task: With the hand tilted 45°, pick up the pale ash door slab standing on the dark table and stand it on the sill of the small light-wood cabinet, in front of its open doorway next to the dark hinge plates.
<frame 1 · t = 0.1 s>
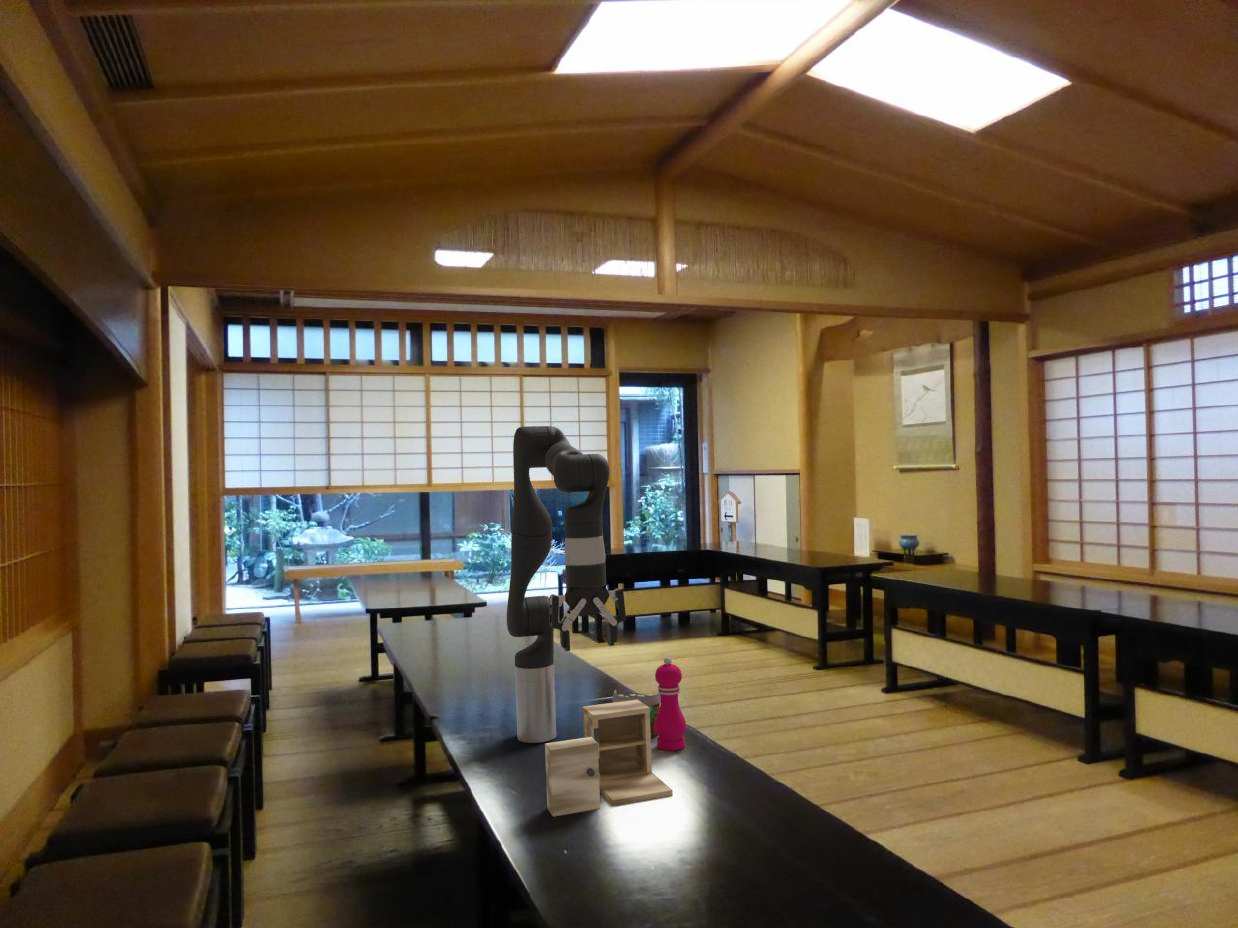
hand: (589, 647, 155), 29 cm above the table, tool pointing down, fingers open, 8 cm apart
food container: (634, 737, 194), on the table
door: (573, 808, 153), on the table
pepper mill: (671, 747, 186), on the table
cabinet: (618, 776, 169), on the table
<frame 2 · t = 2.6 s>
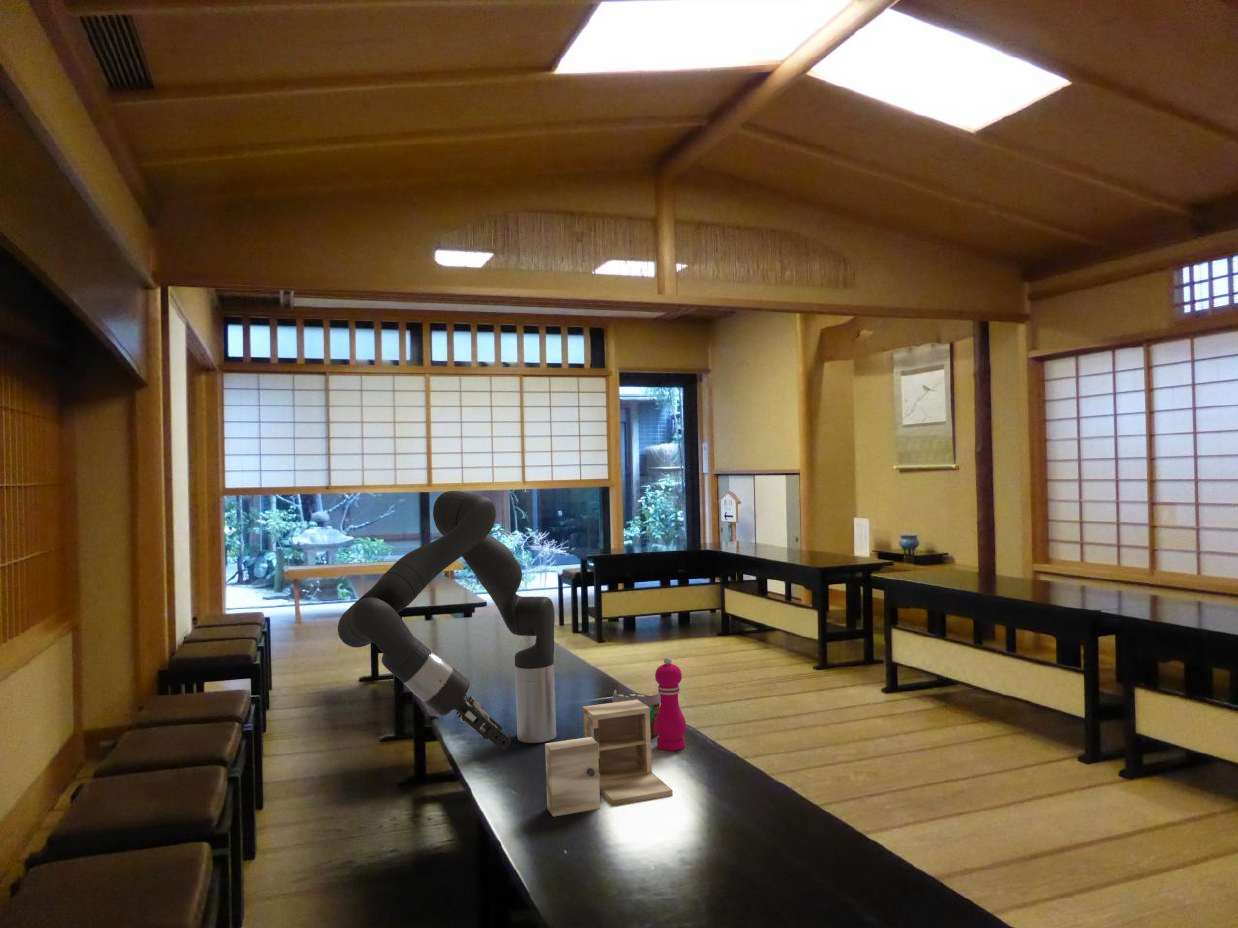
hand: (503, 738, 149), 14 cm above the table, tool tilted 45°, fingers open, 8 cm apart
nothing on the table moved.
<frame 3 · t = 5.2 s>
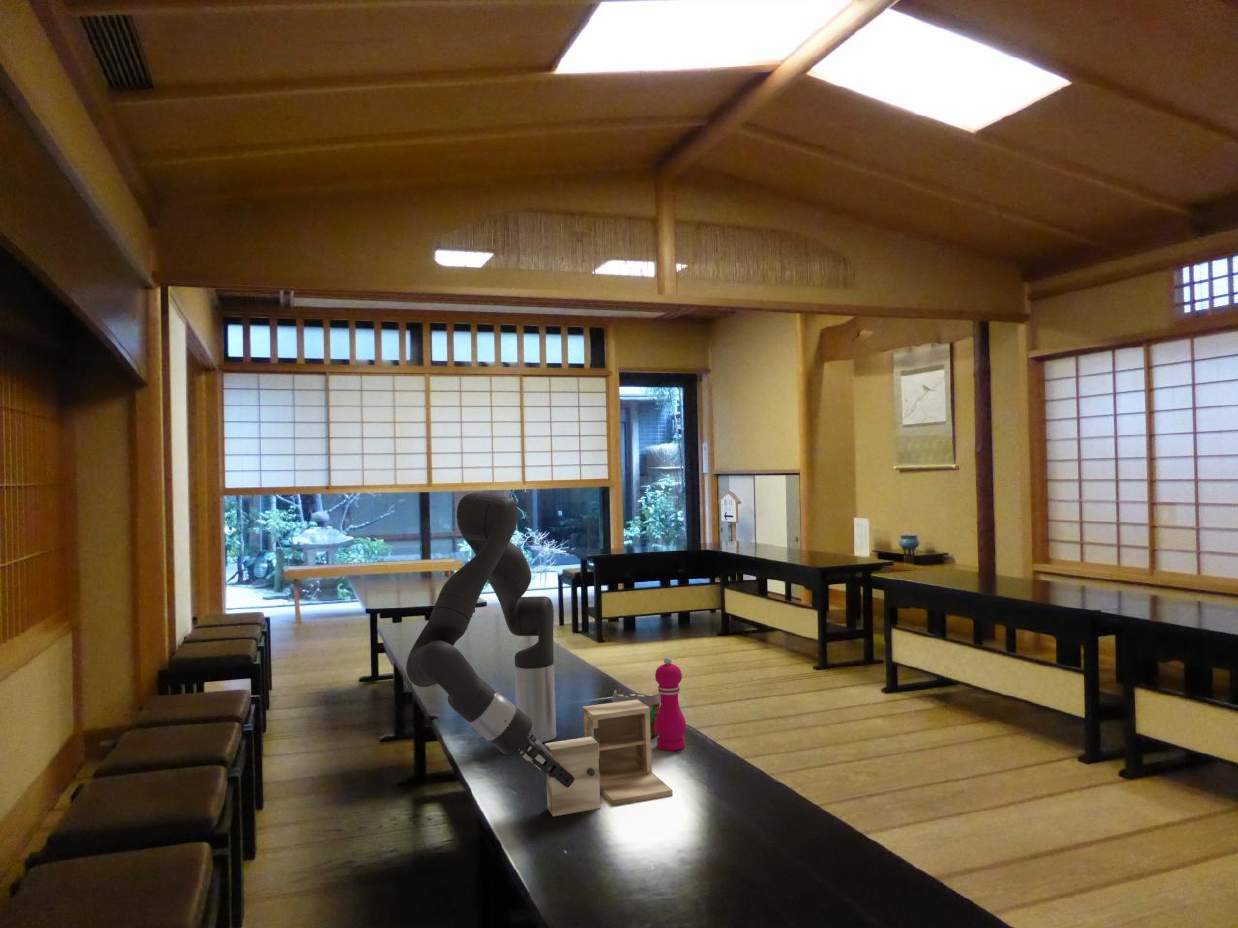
hand: (567, 778, 153), 6 cm above the table, tool tilted 45°, fingers closed on door, 4 cm apart
door: (573, 808, 153), on the table, touching gripper
everything else where it was.
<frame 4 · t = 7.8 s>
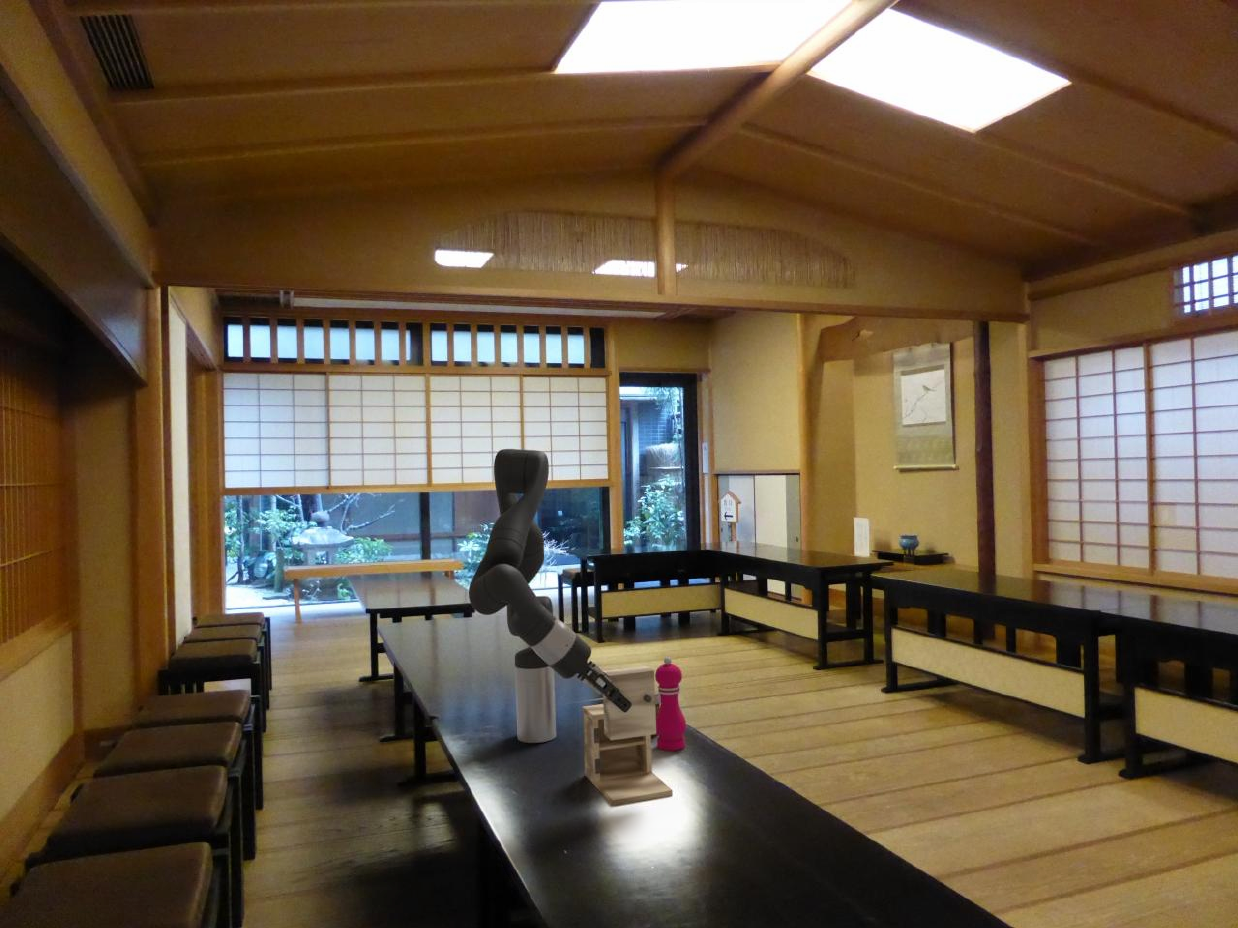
hand: (624, 704, 157), 18 cm above the table, tool tilted 45°, fingers closed on door, 4 cm apart
door: (630, 733, 157), point 12 cm above the table, touching gripper
everything else where it was.
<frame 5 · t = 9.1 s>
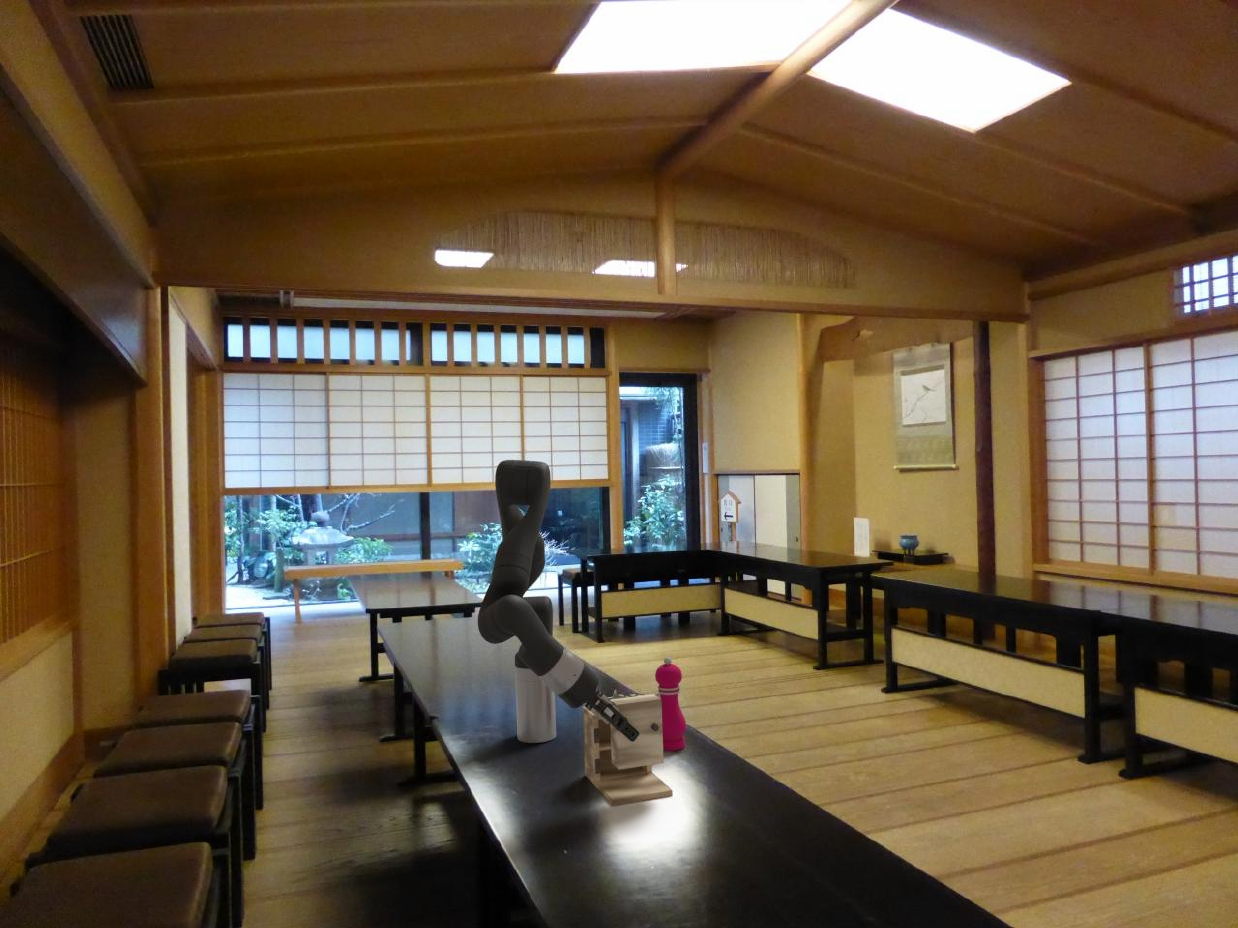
hand: (631, 733, 157), 12 cm above the table, tool tilted 45°, fingers closed on door, 4 cm apart
door: (637, 762, 157), point 6 cm above the table, touching gripper
everything else where it was.
when the fingers open (8 cm above the table, at t = 10.2 s): door drops 1 cm, resting on cabinet.
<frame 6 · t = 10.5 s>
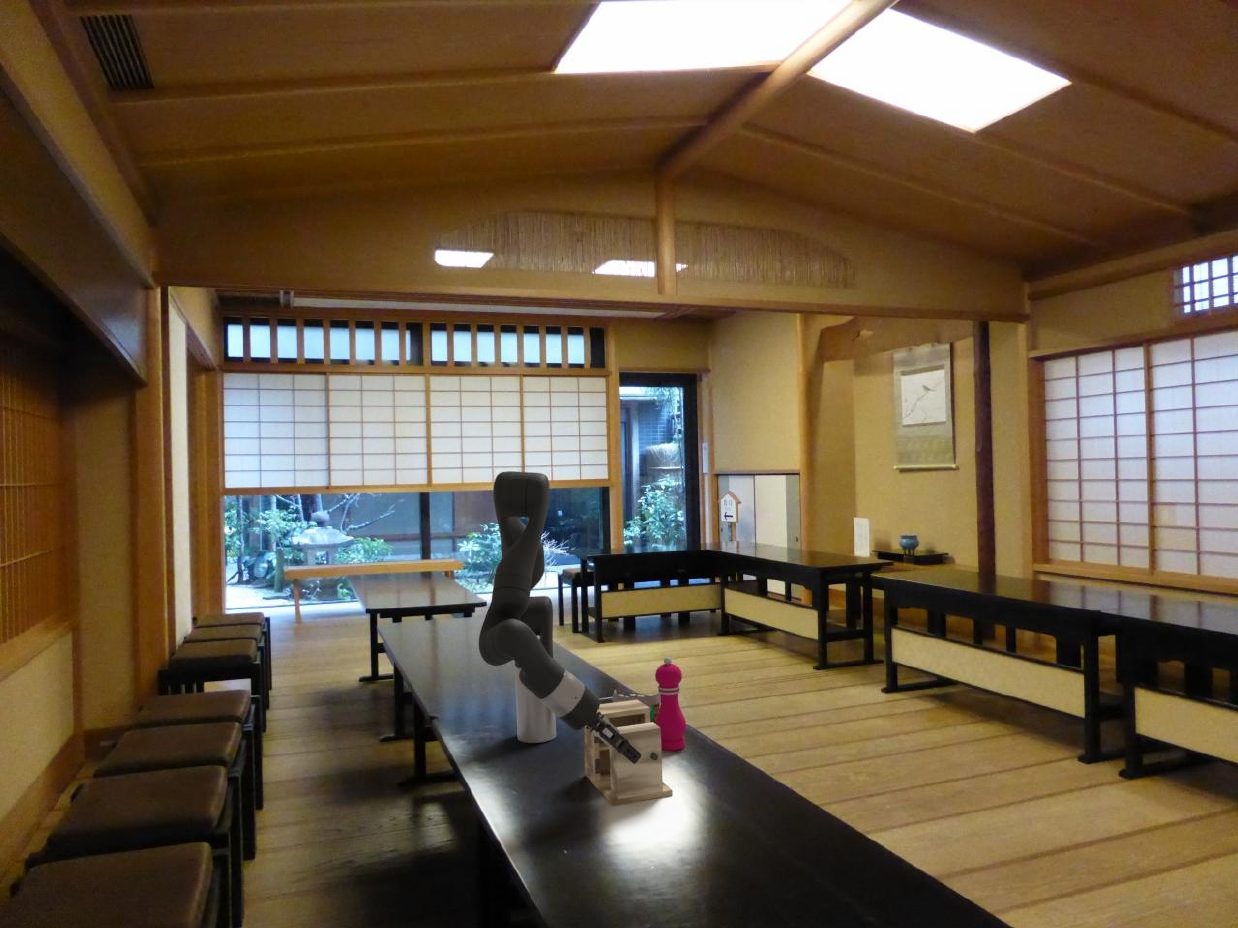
hand: (631, 753, 157), 8 cm above the table, tool tilted 45°, fingers open, 6 cm apart
door: (637, 791, 157), point 1 cm above the table, touching cabinet
everything else where it was.
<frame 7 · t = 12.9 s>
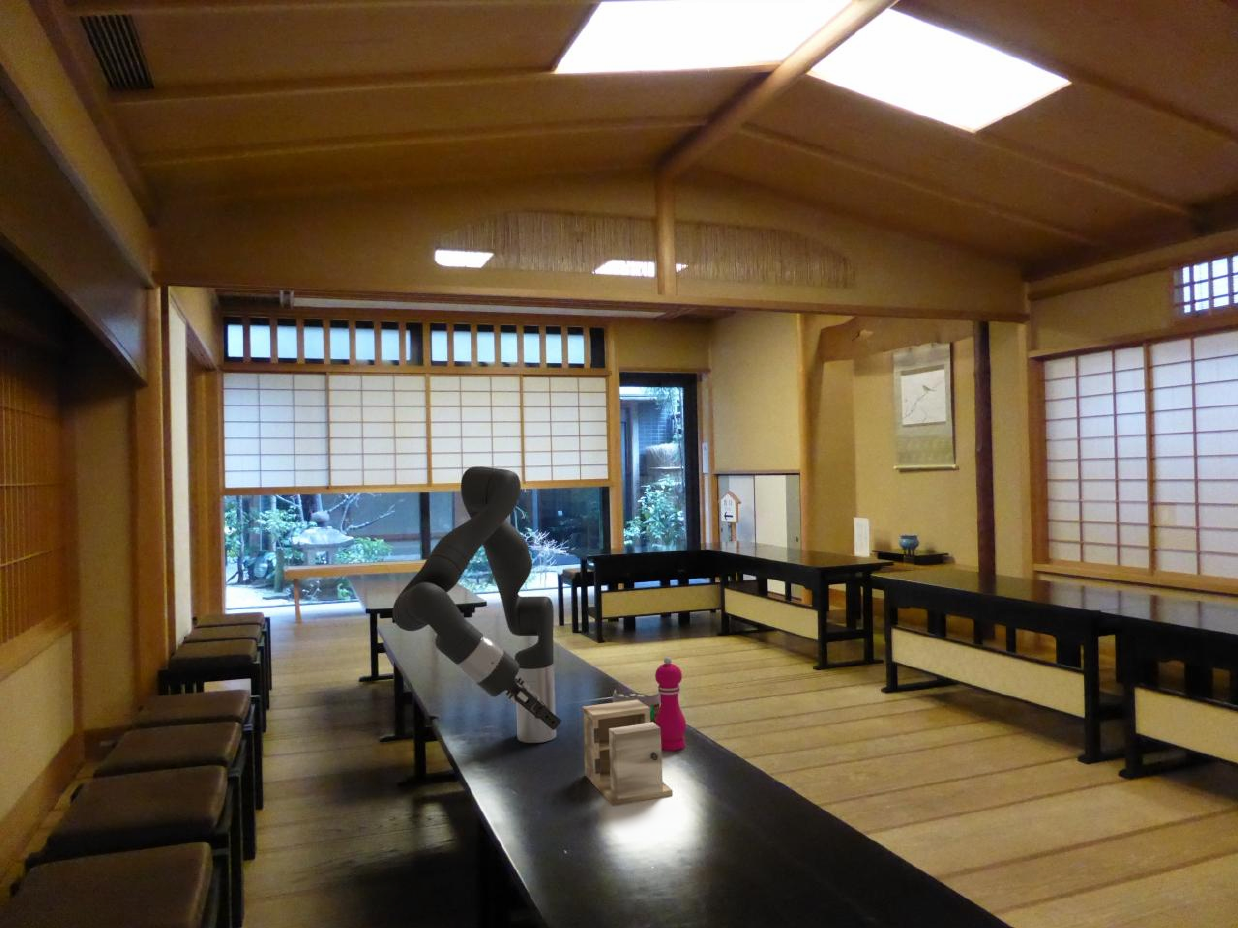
hand: (551, 718, 154), 16 cm above the table, tool tilted 45°, fingers open, 8 cm apart
nothing on the table moved.
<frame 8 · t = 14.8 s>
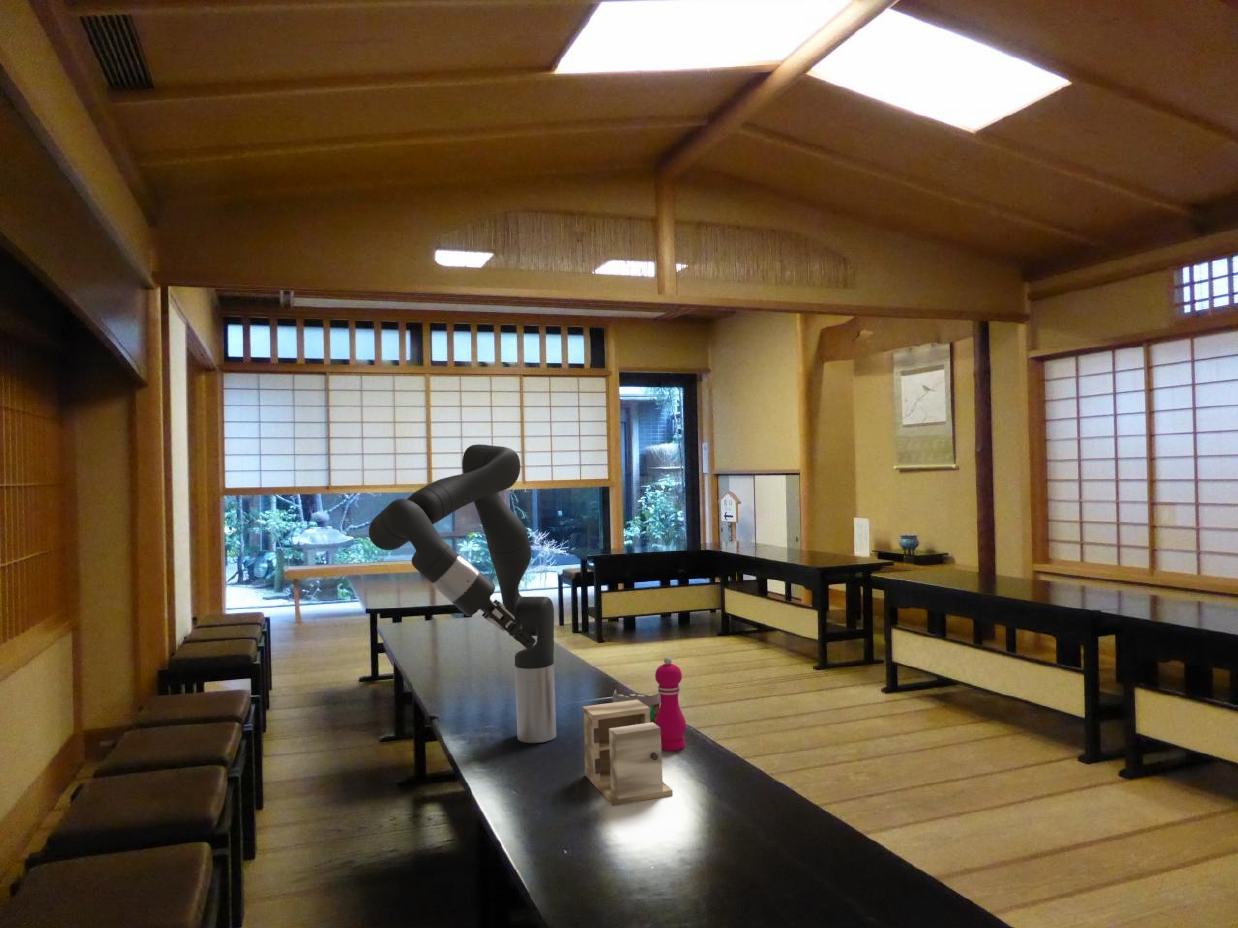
hand: (526, 641, 156), 31 cm above the table, tool tilted 45°, fingers open, 8 cm apart
nothing on the table moved.
at the end: door inside the target area on the cabinet (0.4 cm from its centre), point 1.0 cm above the cabinet's base; door tilted 0°; the gripper is holding nothing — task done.
